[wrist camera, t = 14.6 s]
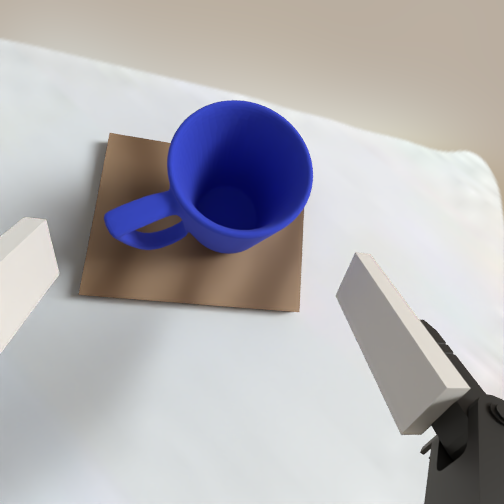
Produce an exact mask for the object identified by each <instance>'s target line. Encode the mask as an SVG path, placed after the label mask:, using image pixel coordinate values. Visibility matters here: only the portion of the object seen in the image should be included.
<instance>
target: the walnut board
mask: <svg viewBox="0 0 504 504" xmlns="http://www.w3.org/2000/svg"><path fill="white" fill-rule="evenodd" d="M170 144H171V143H167V142H161V141H155V140H149V139H143V138H137V137H131V136H125V135H119V134H113V133H110V134H109V139H108V144H107V150H106V155H105V160H104V165H103V170H102V176H101V181H100V186H99V191H98V196H97V202H96V207H95V212H94V217H93V222H92V227H91V233H90V238H89V243H88V248H87V253H86V259H85V264H84V269H83V274H82V279H81V284H80V290H79V295H88V296H101V297H113V298H126V299H139V300H151V301H164V302H177V303H189V304H202V305H215V306H227V307H240V308H252V309H265V310H278V311H290V312H299V308H300V285H301V263H302V241H303V219H304V208H303V210H302V211H301V213H300V214H299V215H298V216H297V218H296V219H295V220H294V221H293V222H291V223H290V224H289V225H288V226H286V227H285V228H283V229H282V230H280V231H278V232H277V233H275V234H273V235H272V236H270V237H268V238H266V239H265V240H263V241H261V242H259V243H258V244H256V245H254V246H253V247H251V248H249V249H247V250H245V251H242V252H238V253H232V254H226V253H219V252H216V251H213V250H211V249H209V248H207V247H205V246H204V245H202V244H201V243H200V242H199V241H198V240H197V239H196V238H195V237H194V236H193V235H192V234H191V233H189V232H188V233H187V235H186V236H185V237H184V238H182V239H181V240H179V241H177V242H175V243H173V244H171V245H168V246H166V247H162V248H159V249H154V250H142V249H138V248H134V247H131V246H129V245H127V244H124V243H123V242H121V241H119V240H117V239H115V238H114V237H113V236H112V235H111V234H110V233H109V231H108V229H107V227H106V225H105V221H104V215H105V214H106V213H107V212H108V211H110V210H112V209H114V208H117V207H119V206H121V205H124V204H126V203H129V202H132V201H134V200H137V199H140V198H142V197H145V196H148V195H152V194H156V193H161V192H165V191H168V190H169V189H170V183H169V178H168V170H167V157H168V151H169V147H170ZM181 221H182V219H181V218H180V217H179V216H177V215H172V216H168V217H165V218H162V219H160V220H158V221H155V222H153V223H151V224H148V225H146V226H143V227H141V228H139V229H136V231H138V232H142V233H152V232H157V231H161V230H164V229H167V228H169V227H171V226H174V225H176V224H178V223H179V222H181Z"/></svg>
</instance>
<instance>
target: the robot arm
mask: <svg viewBox="0 0 504 504" xmlns="http://www.w3.org/2000/svg"><path fill="white" fill-rule="evenodd" d="M59 274H60V273H59V269H58V265H57V261H56V257H55V253H54V249H53V245H52V241H51V237H50V233H49V229H48V225H47V221H46V219H39V218H29V217H24V218H22V219H21V220H20V221H19V222H17V223H16V224H15V225H14V226H13V227H11V228H10V229H9V230H8V231H6V232H5V233H4V234H3V235H1V236H0V354H1V352H2V351H3V350H4V348H5V347H6V346H7V344H8V343H9V342H10V340H11V339H12V338H13V336H14V335H15V333H16V332H17V331H18V329H19V328H20V327H21V325H22V324H23V323H24V321H25V320H26V319H27V317H28V316H29V315H30V313H31V312H32V311H33V309H34V308H35V307H36V305H37V304H38V303H39V301H40V300H41V299H42V297H43V296H44V295H45V293H46V292H47V291H48V289H49V288H50V287H51V285H52V284H53V283H54V281H55V280H56V278H57V277H58V276H59ZM336 298H337V300H338V302H339V304H340V306H341V308H342V310H343V312H344V315H345V317H346V319H347V321H348V323H349V325H350V327H351V329H352V332H353V334H354V336H355V338H356V340H357V342H358V344H359V346H360V349H361V351H362V353H363V355H364V357H365V359H366V361H367V363H368V366H369V368H370V370H371V372H372V374H373V376H374V378H375V380H376V382H377V385H378V387H379V389H380V391H381V393H382V395H383V397H384V399H385V402H386V404H387V406H388V408H389V410H390V412H391V414H392V416H393V419H394V421H395V423H396V425H397V427H398V429H399V431H400V433H401V435H422V434H423V433H424V432H425V431H426V430H427V429H428V428H429V427H430V426H431V425H432V427H433V429H434V431H435V432H436V434H437V435H436V436H435V437H434V438H432V439H431V440H430V441H429V442H428V443H427V444H426V445H425V446H423V447H422V449H421V452H420V453H422V454H423V455H424V454H425V453H426V452H427V451H429V450H430V449H431V454H430V457H429V459H430V462H429V470H428V478H427V486H426V494H425V503H424V504H504V400H502V399H500V398H498V397H495V396H493V395H487V394H486V393H485V392H484V391H483V390H482V388H481V387H480V386H479V385H478V383H477V382H476V381H475V379H474V378H473V377H472V376H471V374H470V373H469V372H468V370H467V369H466V368H465V367H464V365H463V364H462V363H461V362H460V360H459V359H458V358H457V356H456V355H454V354H453V351H452V350H451V349H450V347H449V346H448V345H446V344H445V343H446V342H445V341H444V340H443V338H442V337H441V336H440V335H439V333H438V332H437V331H436V330H435V329H434V328H433V327H432V326H430V325H429V324H428V323H427V322H426V321H424V320H419V319H418V317H417V316H416V315H415V313H414V312H413V311H412V309H411V308H410V306H409V305H408V304H407V302H406V301H405V300H404V298H403V297H402V296H401V294H400V293H399V292H398V290H397V289H396V288H395V286H394V285H393V284H392V282H391V281H390V280H389V278H388V277H387V276H386V274H385V273H384V272H383V270H382V269H381V268H380V266H379V265H378V264H377V262H376V261H375V260H374V258H373V257H372V256H371V254H366V253H357V252H355V254H354V257H353V259H352V261H351V263H350V265H349V268H348V270H347V272H346V274H345V276H344V278H343V281H342V283H341V285H340V287H339V289H338V292H337V294H336Z"/></svg>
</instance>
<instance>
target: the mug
mask: <svg viewBox="0 0 504 504" xmlns="http://www.w3.org/2000/svg"><path fill="white" fill-rule="evenodd" d="M167 170H168V178H169V183H170V189H169V190H168V191H165V192H161V193H156V194H152V195H148V196H145V197H142V198H140V199H137V200H134V201H132V202H129V203H126V204H124V205H121V206H119V207H117V208H114V209H112V210H110V211H108V212H107V213H106V214H105V215H104V221H105V225H106V227H107V229H108V231H109V233H110V234H111V235H112V236H113V237H114V238H115V239H117V240H119V241H121V242H123V243H124V244H127V245H129V246H131V247H134V248H138V249H142V250H154V249H159V248H162V247H166V246H168V245H171V244H173V243H175V242H177V241H179V240H181V239H182V238H184V237H185V236H186V235H187V233H188V232H189V233H191V234H192V235H193V236H194V237H195V238H196V239H197V240H198V241H199V242H200V243H201V244H202V245H204V246H205V247H207V248H209V249H211V250H213V251H216V252H219V253H226V254H232V253H238V252H242V251H245V250H247V249H249V248H251V247H253V246H254V245H256V244H258V243H259V242H261V241H263V240H265V239H266V238H268V237H270V236H272V235H273V234H275V233H277V232H278V231H280V230H282V229H283V228H285V227H286V226H288V225H289V224H290V223H291V222H293V221H294V220H295V219H296V218H297V216H298V215H299V214H300V213H301V211H302V210H303V208H304V207H305V205H306V203H307V201H308V198H309V196H310V192H311V188H312V182H313V168H312V161H311V158H310V154H309V151H308V149H307V147H306V144H305V142H304V141H303V139H302V137H301V136H300V134H299V133H298V132H297V130H296V129H295V128H294V127H293V126H292V125H291V124H290V123H289V122H288V121H287V120H286V119H285V118H284V117H282V116H281V115H279V114H278V113H276V112H274V111H273V110H271V109H269V108H267V107H265V106H262V105H259V104H256V103H252V102H247V101H237V100H232V101H221V102H217V103H213V104H210V105H207V106H205V107H203V108H201V109H199V110H197V111H196V112H194V113H193V114H191V115H190V116H189V117H188V118H187V119H186V120H185V121H184V122H183V123H182V124H181V125H180V127H179V128H178V130H177V131H176V133H175V134H174V137H173V139H172V141H171V144H170V147H169V151H168V157H167ZM172 215H177V216H179V217H180V218H181V219H182V221H181V222H179V223H178V224H176V225H174V226H171V227H169V228H167V229H164V230H161V231H157V232H152V233H142V232H138V231H136V229H139V228H141V227H143V226H146V225H148V224H151V223H153V222H155V221H158V220H160V219H162V218H165V217H168V216H172Z"/></svg>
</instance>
